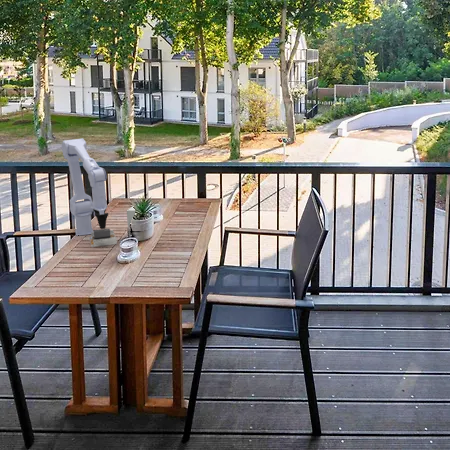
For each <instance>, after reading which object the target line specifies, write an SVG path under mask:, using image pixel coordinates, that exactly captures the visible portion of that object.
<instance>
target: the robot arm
mask: <svg viewBox="0 0 450 450" xmlns="http://www.w3.org/2000/svg"><path fill="white" fill-rule="evenodd" d="M87 148H88V147H87V141H86V140H85V139H84V138H83V137H82V138H77V139H76V138H75V139H68V140H67V139H65V140H63V141H62V142H61V151H62V155H63V159H65V160H67V164H68V168H69V169H68V170H69V175H70V179H71V184H72V188H73V189H72V190H73V196H72V197H71V198H70V199H69V209H70V212H71V214H72V216H74V221H75V230H74V232H75V236H77V237H79V236H88V235H91V232H93V230H94V228H93V225H92V214H93V212H94V215H95V217H96V219H97V223H98V226H99V230H100V229H106V226H107V219H108V216H109V212H106V211H107V208H108V205H107V196H106V195H107V193H106V181H107V178H108V177H107V172H106V169H105V168H103V167H100V166H99V165H98V163H97V162H96V160H95V159H94V157H91V156H90V155H89V152H88V150H87ZM79 159H80V160H81V162H82V167H83V169H84V170H85V171H86V173H87V174H88V175H87V176H88V181H89V184H90V187H91V193H92V196H90V195H89V194H87V193H86V191H85V186H84V180H83V175H82V170H81V165H80V160H79ZM78 235H79V236H78Z"/></svg>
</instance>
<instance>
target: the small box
mask: <svg viewBox="0 0 450 450" xmlns="http://www.w3.org/2000/svg"><path fill="white" fill-rule="evenodd" d="M133 207H134V205H133V206H131V207H129V209H127V210H126V218H127V219H126V220H127V228H128V227H129V225H130V223H131V220H132V218H133V216H134V215H135V209H134V208H133Z"/></svg>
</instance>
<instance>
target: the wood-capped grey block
mask: <svg viewBox="0 0 450 450" xmlns="http://www.w3.org/2000/svg"><path fill="white" fill-rule="evenodd" d="M110 230H111V229H110V228H105V229H100V228H99V229H93V232H94V239H102V238H110V237H111V236H110Z"/></svg>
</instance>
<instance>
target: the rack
mask: <svg viewBox="0 0 450 450" xmlns="http://www.w3.org/2000/svg"><path fill="white" fill-rule="evenodd" d="M110 236H111V237H110V238H102V239H94V232H91V234H90V236H89V237H88V238H89V242H90V246H91V248H94V247H102V246H111V245H113V246H114V245H117V244H118V243H117V242H118V241H117V236H116V234H115V232H114V229H110Z"/></svg>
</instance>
